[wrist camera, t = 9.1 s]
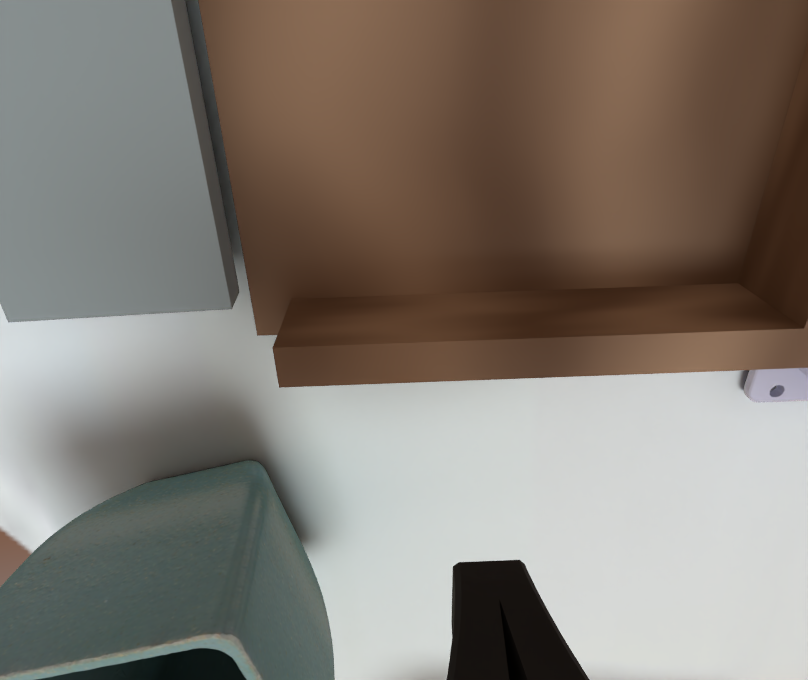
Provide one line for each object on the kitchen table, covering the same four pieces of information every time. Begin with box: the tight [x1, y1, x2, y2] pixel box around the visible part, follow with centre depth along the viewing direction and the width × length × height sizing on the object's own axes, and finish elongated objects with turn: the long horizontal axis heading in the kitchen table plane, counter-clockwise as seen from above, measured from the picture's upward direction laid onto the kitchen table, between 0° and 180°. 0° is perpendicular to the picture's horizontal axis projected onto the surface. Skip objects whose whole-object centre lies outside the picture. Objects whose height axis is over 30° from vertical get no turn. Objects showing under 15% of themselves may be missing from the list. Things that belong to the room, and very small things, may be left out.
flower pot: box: [0, 460, 335, 680], centre depth 19 cm, size 9×9×9 cm
